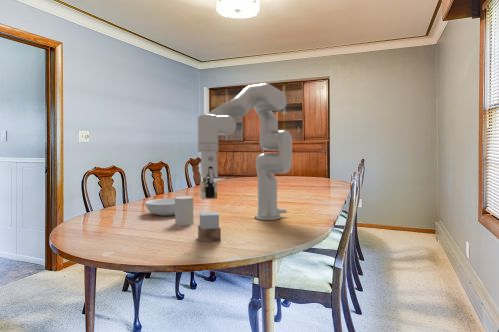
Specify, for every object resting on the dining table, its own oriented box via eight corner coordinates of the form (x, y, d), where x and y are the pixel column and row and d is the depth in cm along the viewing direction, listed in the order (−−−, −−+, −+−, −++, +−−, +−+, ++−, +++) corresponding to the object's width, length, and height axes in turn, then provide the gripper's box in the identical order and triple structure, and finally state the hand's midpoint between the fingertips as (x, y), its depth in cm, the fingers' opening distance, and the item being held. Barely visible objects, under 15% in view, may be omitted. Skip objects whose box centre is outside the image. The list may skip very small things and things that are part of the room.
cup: (189, 226, 142) (189, 199, 141) (172, 225, 144) (171, 198, 143) (196, 221, 150) (195, 196, 149) (179, 221, 152) (179, 195, 151)
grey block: (216, 224, 125) (216, 211, 125) (219, 228, 119) (218, 214, 119) (199, 225, 124) (199, 212, 123) (201, 229, 117) (201, 215, 117)
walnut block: (217, 236, 126) (217, 223, 126) (220, 241, 119) (220, 228, 119) (198, 237, 124) (198, 224, 124) (200, 243, 117) (200, 229, 117)
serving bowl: (195, 212, 171) (195, 199, 171) (165, 220, 153) (165, 206, 153) (168, 208, 182) (167, 196, 182) (137, 215, 165) (136, 202, 164)
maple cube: (214, 196, 124) (214, 181, 124) (217, 198, 119) (217, 182, 118) (200, 197, 123) (200, 181, 122) (202, 199, 117) (202, 182, 117)
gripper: (222, 148, 112) (223, 199, 113) (214, 148, 129) (214, 193, 130) (201, 148, 110) (201, 200, 111) (195, 148, 127) (195, 193, 128)
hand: (208, 195), depth 121 cm, fingers closed on maple cube, 5 cm apart
